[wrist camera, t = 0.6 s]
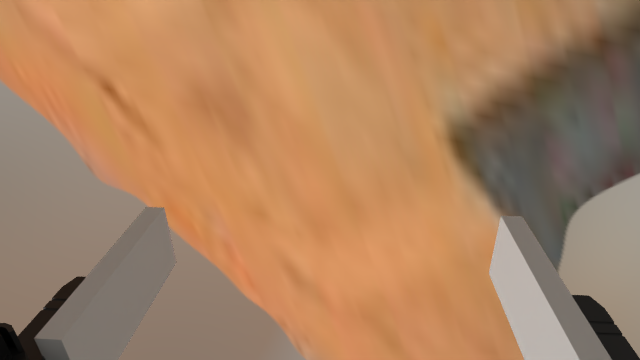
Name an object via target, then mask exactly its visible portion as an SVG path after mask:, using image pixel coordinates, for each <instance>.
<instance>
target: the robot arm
mask: <svg viewBox="0 0 640 360" xmlns="http://www.w3.org/2000/svg"><path fill="white" fill-rule="evenodd" d="M175 264H176V258H175V253H174V249H173V244H172V240H171V236H170V231H169V227H168V222H167V218H166V214H165V209H164V208H156V207H146V208H145V209H144V210H143V211H142V212H141V213H140V215H139V216H138V217H137V218H136V219H135V220H134V222H133V223H132V224H131V225H130V226H129V228H128V229H127V230H126V231H125V232H124V234H123V235H122V236H121V237H120V238H119V239H118V240H117V242H116V243H115V244H114V245H113V246H112V247H111V249H110V250H109V251H108V252H107V253H106V255H105V256H104V257H103V258H102V259H101V260H100V262H99V263H98V264H97V265H96V266H95V268H94V269H93V270H92V271H91V272H90V273H89V274H88V276H87V277H76V278H75V279H73V280H72V281H70V282H69V283H67V284H66V285H64V286H63V287H62V288H61V289H60V290H59V291H58V292H57V293H56V295H55V296H54V297H53V298H52V301H49V302H48V303H47V304H46V306H45V307H44V309H43V310H42V311H40V312H39V313H38V314H37V316H36V317H35V318H34V319H33V320H32V321H31V323H29V324H28V326H27V327H26V328H25V329H24V330H23V331H22V332H21V333H20V334H19V336H18V337H17V335H16V333H15V331H14V329H13V328H12V325H9V324H6V323H0V360H118V359H119V357H120V356H121V354H122V352H123V351H124V349H125V347H126V346H127V344H128V342H129V341H130V339H131V337H132V336H133V334H134V332H135V330H136V329H137V327H138V326H139V324H140V322H141V321H142V319H143V317H144V316H145V314H146V312H147V311H148V309H149V307H150V306H151V304H152V302H153V301H154V299H155V297H156V295H157V294H158V292H159V291H160V289H161V287H162V286H163V284H164V282H165V280H166V279H167V277H168V276H169V274H170V272H171V271H172V269H173V267H174V266H175ZM489 274H490V277H491V279H492V282H493V284H494V287H495V289H496V292H497V294H498V296H499V299H500V301H501V304H502V306H503V309H504V311H505V313H506V316H507V318H508V321H509V323H510V326H511V328H512V331H513V333H514V335H515V338H516V340H517V343H518V345H519V348H520V350H521V352H522V355H523V357H524V360H640V358H639V357H638V356H637V354H636V353H635V351H634V350H633V348H632V347H631V346H630V344H629V343H628V341H627V340H626V339H625V337H623V336H622V333H621V331H620V330H619V328H618V327H617V325H614V321H613V320H612V318H611V317H610V315H609V314H608V313H607V311H606V310H605V308H603V307H602V306H601V305H600V304H599V303H597V302H596V301H595V300H593V299H592V298H591V297H590V296H584V295H571V294H570V292H569V290H568V289H567V287H566V286H565V284H564V283H563V281H562V279H561V278H560V276H559V274H558V273H557V271H556V270H555V268H554V266H553V265H552V263H551V262H550V260H549V259H548V257H547V255H546V254H545V252H544V251H543V249H542V247H541V246H540V244H539V243H538V241H537V239H536V238H535V236H534V235H533V233H532V231H531V230H530V228H529V227H528V225H527V223H526V222H525V220H524V219H523V217H522V216H501V219H500V223H499V228H498V233H497V238H496V242H495V247H494V252H493V257H492V261H491V266H490V271H489Z"/></svg>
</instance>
